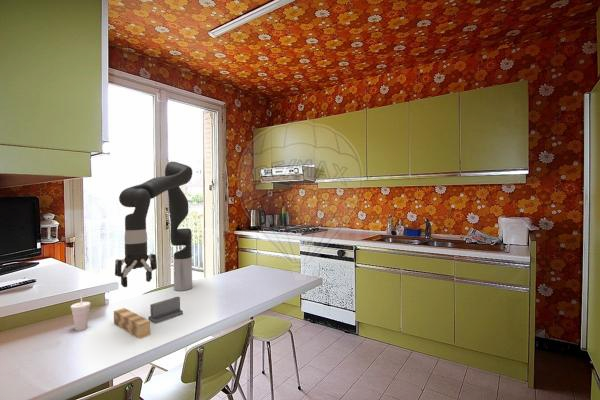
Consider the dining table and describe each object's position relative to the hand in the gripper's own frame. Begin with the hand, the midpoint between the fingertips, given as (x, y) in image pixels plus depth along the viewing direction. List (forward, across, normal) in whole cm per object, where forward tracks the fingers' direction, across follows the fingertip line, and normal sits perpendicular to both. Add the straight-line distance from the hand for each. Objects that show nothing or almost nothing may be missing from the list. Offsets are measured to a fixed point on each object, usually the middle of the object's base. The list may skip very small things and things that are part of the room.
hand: (137, 284), depth 116 cm
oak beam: (+19, 0, -5) cm, 20 cm away
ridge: (+18, -14, -5) cm, 24 cm away
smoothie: (+19, +12, -22) cm, 31 cm away
